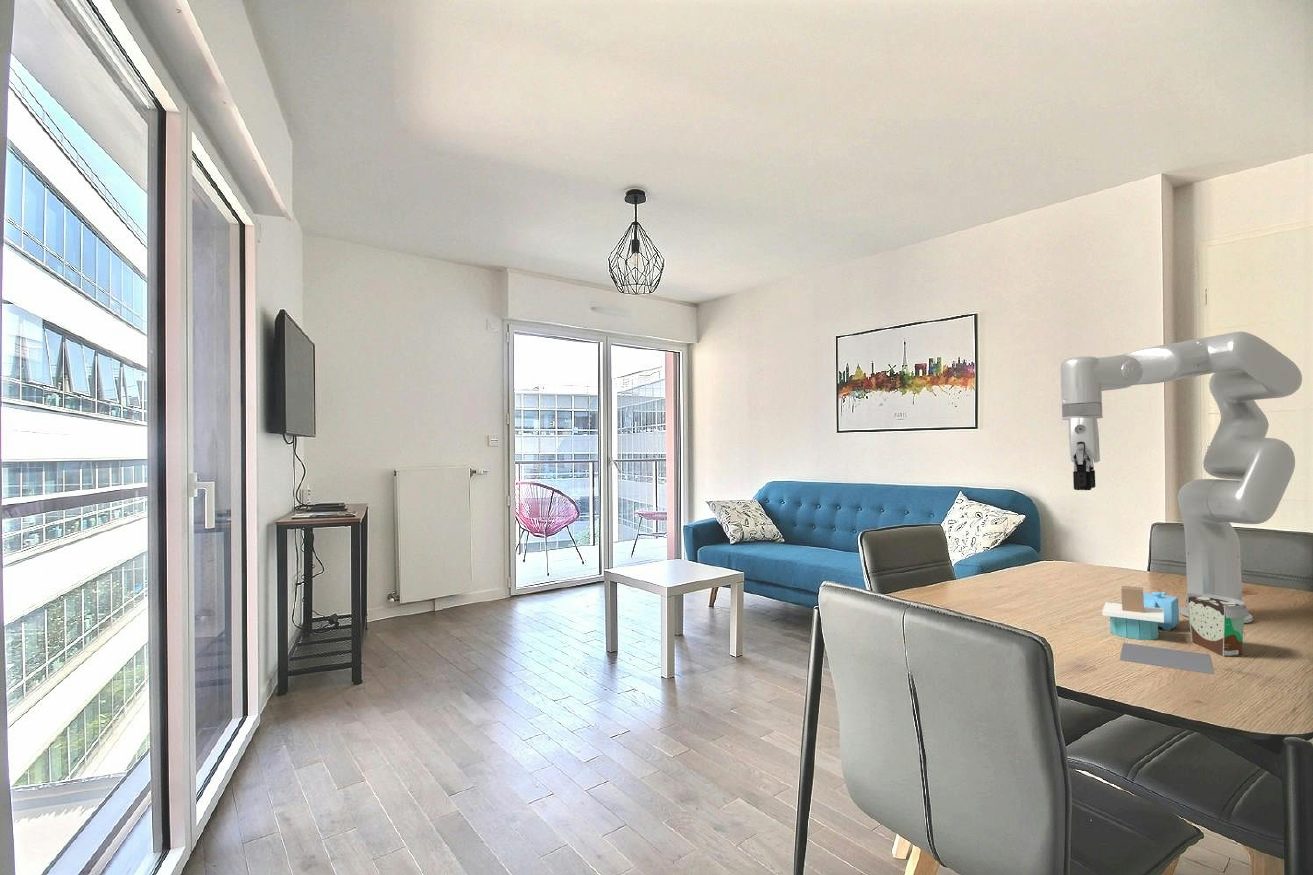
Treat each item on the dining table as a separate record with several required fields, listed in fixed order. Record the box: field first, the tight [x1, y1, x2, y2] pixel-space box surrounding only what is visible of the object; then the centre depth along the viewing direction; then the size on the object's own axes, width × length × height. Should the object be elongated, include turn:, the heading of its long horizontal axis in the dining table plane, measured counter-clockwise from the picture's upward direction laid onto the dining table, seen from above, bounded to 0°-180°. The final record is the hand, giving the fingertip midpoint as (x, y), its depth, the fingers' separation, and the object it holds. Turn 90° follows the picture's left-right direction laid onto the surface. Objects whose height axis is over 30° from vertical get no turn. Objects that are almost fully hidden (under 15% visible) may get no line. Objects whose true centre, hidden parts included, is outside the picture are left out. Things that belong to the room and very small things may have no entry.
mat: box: [1119, 642, 1215, 675], centre depth 117 cm, size 13×13×1 cm
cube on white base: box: [1101, 585, 1164, 623], centre depth 132 cm, size 10×10×5 cm
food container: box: [1185, 592, 1250, 658], centre depth 121 cm, size 12×6×10 cm, turn 168°
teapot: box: [1143, 591, 1180, 632], centre depth 140 cm, size 12×6×8 cm, turn 131°
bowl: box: [1109, 616, 1159, 641], centre depth 132 cm, size 8×8×5 cm
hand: (1084, 488), depth 142 cm, fingers open, 9 cm apart
